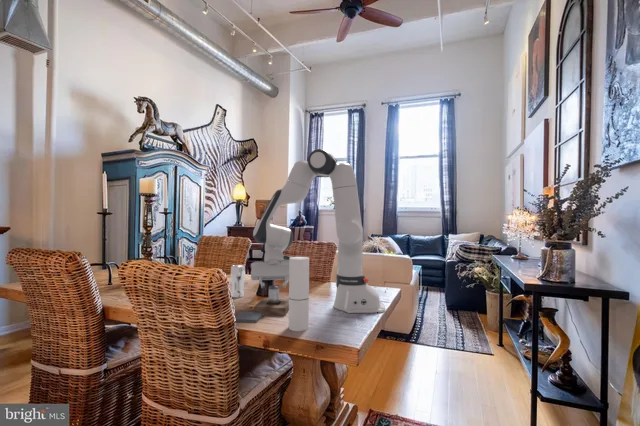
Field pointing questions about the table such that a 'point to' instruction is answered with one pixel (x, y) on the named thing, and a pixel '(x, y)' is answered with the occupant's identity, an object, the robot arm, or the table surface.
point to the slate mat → (249, 316)
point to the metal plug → (274, 295)
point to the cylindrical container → (298, 293)
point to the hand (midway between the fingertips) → (273, 287)
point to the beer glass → (237, 280)
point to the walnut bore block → (272, 307)
